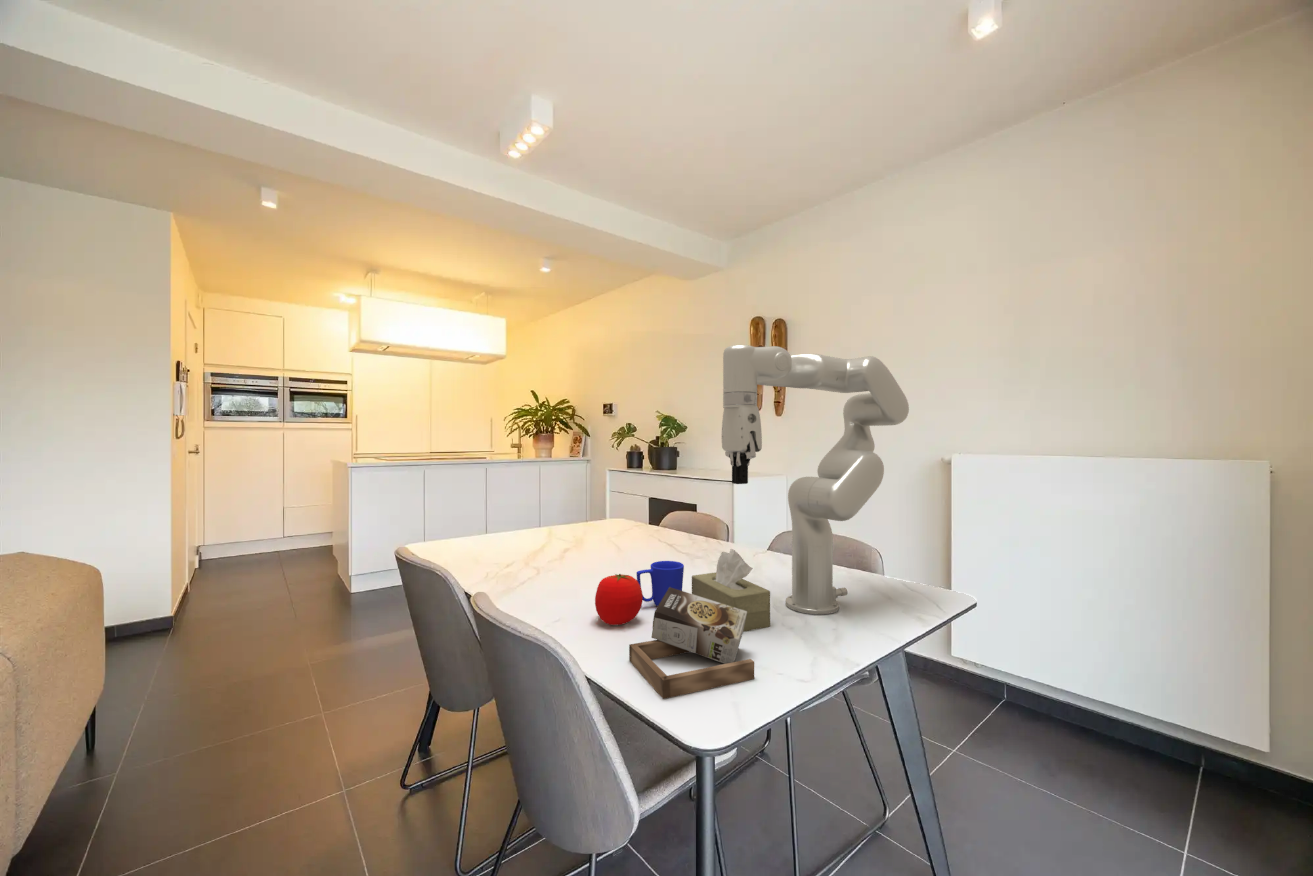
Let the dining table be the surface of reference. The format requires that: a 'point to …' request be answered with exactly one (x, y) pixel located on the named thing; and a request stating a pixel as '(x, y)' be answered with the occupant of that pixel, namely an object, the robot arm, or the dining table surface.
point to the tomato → (618, 599)
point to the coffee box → (699, 625)
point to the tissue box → (735, 590)
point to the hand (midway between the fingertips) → (739, 483)
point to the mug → (663, 578)
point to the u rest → (687, 680)
